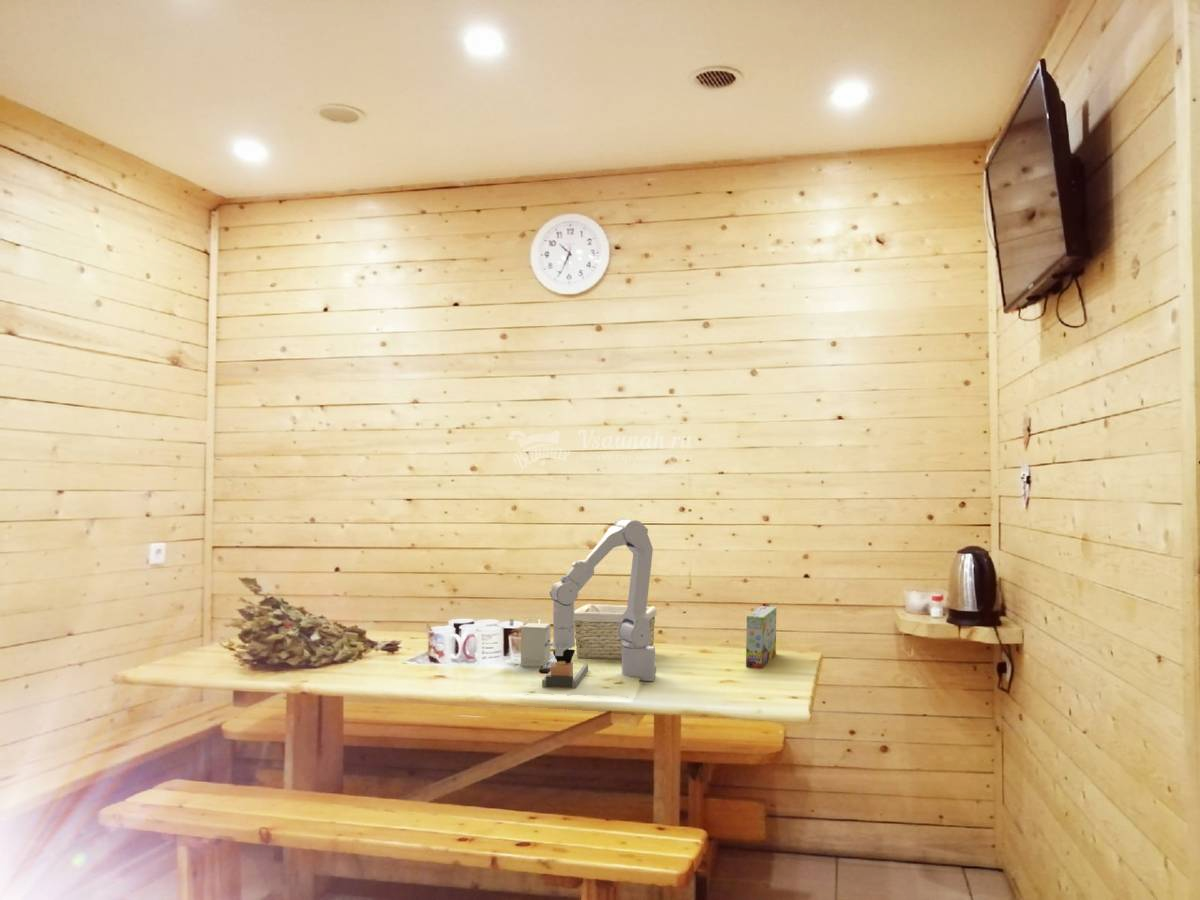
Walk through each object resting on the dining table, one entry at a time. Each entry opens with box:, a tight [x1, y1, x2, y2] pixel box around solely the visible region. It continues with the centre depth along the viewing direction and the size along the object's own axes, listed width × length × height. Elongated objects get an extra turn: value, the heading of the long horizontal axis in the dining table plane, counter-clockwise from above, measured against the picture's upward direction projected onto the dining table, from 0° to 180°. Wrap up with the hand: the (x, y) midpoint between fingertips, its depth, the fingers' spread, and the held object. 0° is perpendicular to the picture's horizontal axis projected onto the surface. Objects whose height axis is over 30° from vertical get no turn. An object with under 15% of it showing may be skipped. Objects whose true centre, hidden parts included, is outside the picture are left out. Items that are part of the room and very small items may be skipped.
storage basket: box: [574, 603, 657, 661], centre depth 268 cm, size 24×16×15 cm
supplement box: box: [520, 622, 551, 668], centre depth 251 cm, size 7×7×13 cm
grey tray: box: [541, 663, 589, 689], centre depth 233 cm, size 12×20×4 cm, turn 172°
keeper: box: [550, 661, 574, 677], centre depth 227 cm, size 5×5×6 cm
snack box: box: [745, 605, 777, 669], centre depth 259 cm, size 21×6×15 cm, turn 158°
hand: (564, 677), depth 231 cm, fingers closed, pressing on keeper
